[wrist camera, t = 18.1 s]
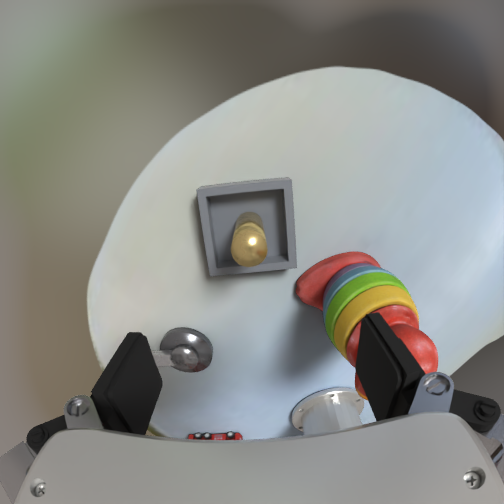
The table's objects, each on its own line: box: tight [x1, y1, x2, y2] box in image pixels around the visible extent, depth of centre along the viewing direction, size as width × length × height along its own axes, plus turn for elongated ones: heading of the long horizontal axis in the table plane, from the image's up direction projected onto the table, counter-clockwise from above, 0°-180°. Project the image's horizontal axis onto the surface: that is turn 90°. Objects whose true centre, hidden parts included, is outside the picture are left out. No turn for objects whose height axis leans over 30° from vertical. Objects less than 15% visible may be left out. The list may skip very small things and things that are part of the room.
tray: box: [197, 177, 297, 276], centre depth 28 cm, size 9×9×3 cm
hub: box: [160, 327, 213, 372], centre depth 35 cm, size 7×7×1 cm
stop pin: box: [231, 212, 267, 267], centre depth 25 cm, size 3×3×8 cm
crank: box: [151, 344, 199, 370], centre depth 31 cm, size 11×4×6 cm, turn 99°
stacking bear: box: [296, 252, 438, 400], centre depth 24 cm, size 11×10×18 cm
